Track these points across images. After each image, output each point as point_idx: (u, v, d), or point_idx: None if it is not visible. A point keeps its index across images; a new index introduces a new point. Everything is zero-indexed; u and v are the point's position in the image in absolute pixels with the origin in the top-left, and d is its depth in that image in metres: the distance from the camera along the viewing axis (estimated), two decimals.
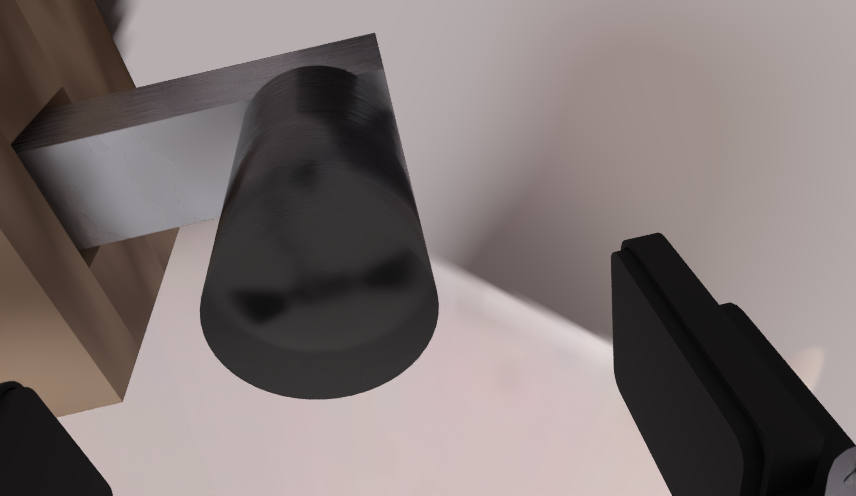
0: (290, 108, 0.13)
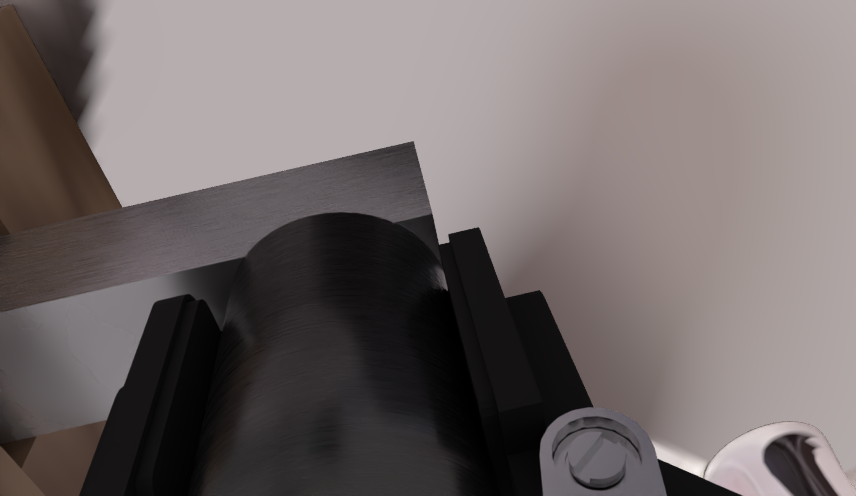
0: (298, 309, 0.09)
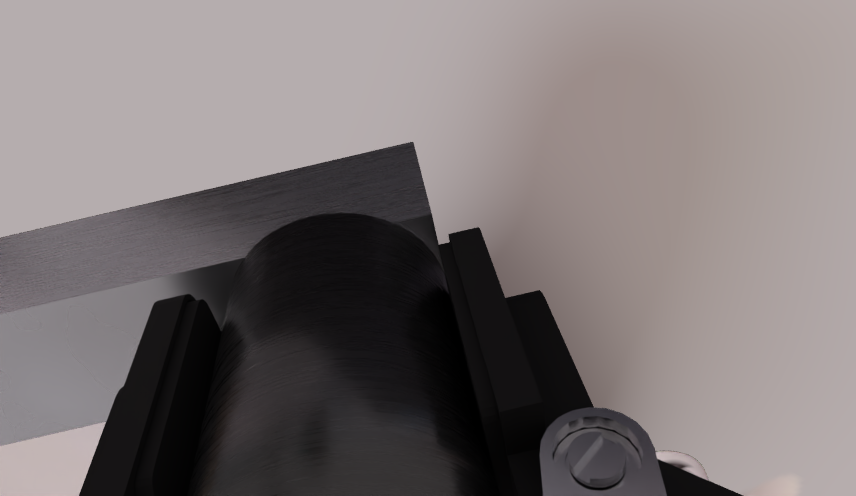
0: (297, 310, 0.09)
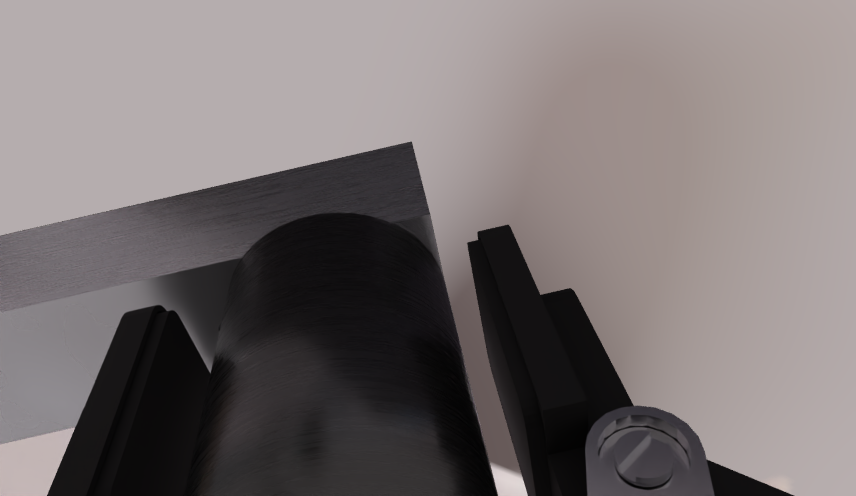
0: (296, 310, 0.09)
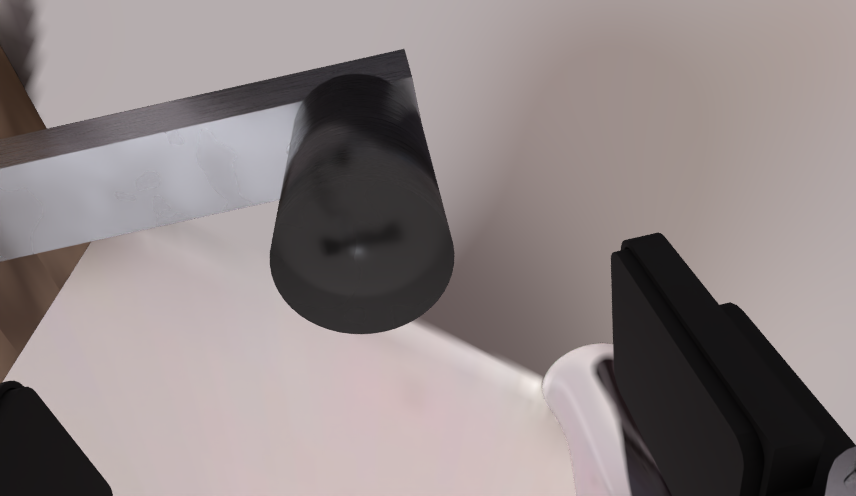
0: (337, 105, 0.17)
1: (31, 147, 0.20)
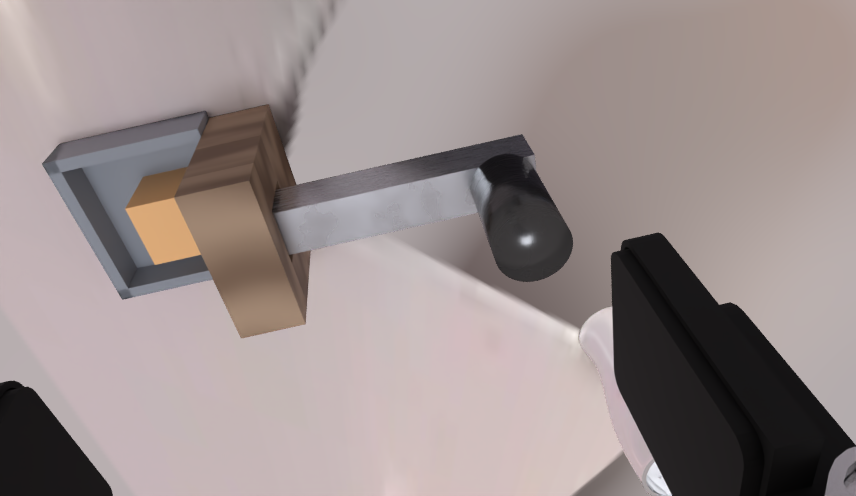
0: (507, 174, 0.35)
1: (328, 190, 0.38)
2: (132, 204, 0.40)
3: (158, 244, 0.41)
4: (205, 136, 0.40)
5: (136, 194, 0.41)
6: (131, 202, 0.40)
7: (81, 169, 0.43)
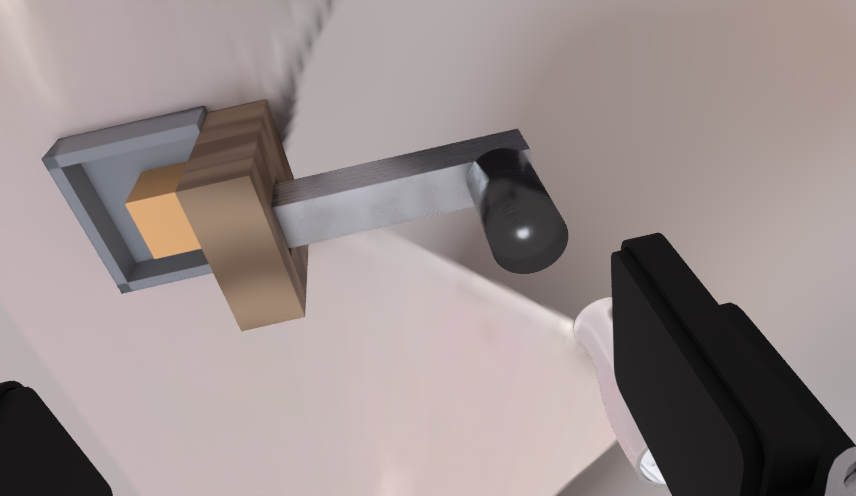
0: (503, 168, 0.35)
1: (327, 184, 0.39)
2: (131, 199, 0.40)
3: (158, 238, 0.42)
4: (203, 131, 0.40)
5: (135, 189, 0.42)
6: (130, 197, 0.41)
7: (80, 164, 0.43)
